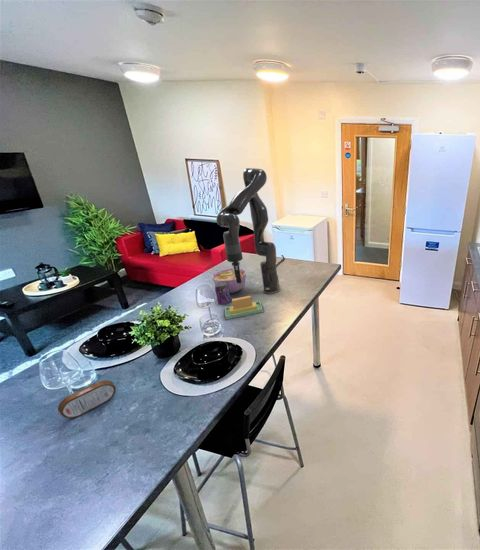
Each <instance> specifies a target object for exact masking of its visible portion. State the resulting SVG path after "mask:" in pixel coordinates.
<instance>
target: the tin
mask: <svg viewBox="0 0 480 550" xmlns="http://www.w3.org/2000/svg"><path fill="white" fill-rule="evenodd" d="M116 392H117V388H116V385H115V383H113V382H112V381H111V380H108V379H107V380H100V381H97V382H94V383H93V384H90V385H88V386H86V387H84V388H81V389H80V390H78V391H76V392H73V393H71V394H68V395H66V397H64V398H63V399H62V400H61V401H60V402H59V404H58V406H57V411H58V413H59V414H60V416H62V417H63V418H66V419H72V418H73V419H75V418H77V417H80V416H82V415H84V414H86V413H87V412H90V411H91V410H94V409H95V408H97V407H99V406H101V405H103V404H105V403H107V402H108V401H110V400H111V399H112V398H113V397H114V396H115V394H116Z"/></svg>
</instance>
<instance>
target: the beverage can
mask: <svg viewBox="0 0 480 550" xmlns="http://www.w3.org/2000/svg"><path fill="white" fill-rule="evenodd" d="M214 292H215V296H216V301H217V304H220V305H225V304H228V303H229V302H231V301H232V298H231V295H230V294H231V293H229V289H228V285H227V283H226V282H219V283H216V284H215V283H214Z"/></svg>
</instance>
